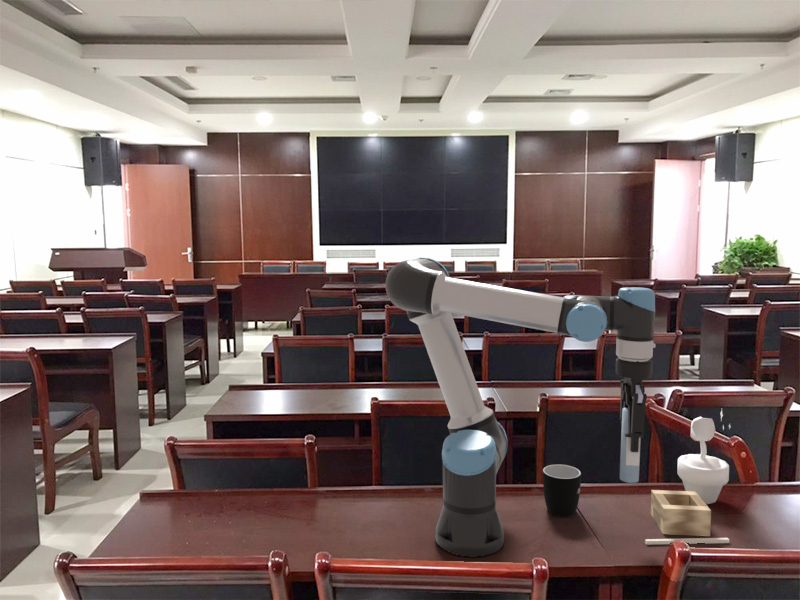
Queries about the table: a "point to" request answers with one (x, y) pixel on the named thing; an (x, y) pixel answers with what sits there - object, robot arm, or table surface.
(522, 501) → the table surface
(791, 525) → the table surface
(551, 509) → the mug
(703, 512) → the wooden box
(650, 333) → the robot arm
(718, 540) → the white thin rod
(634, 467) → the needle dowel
